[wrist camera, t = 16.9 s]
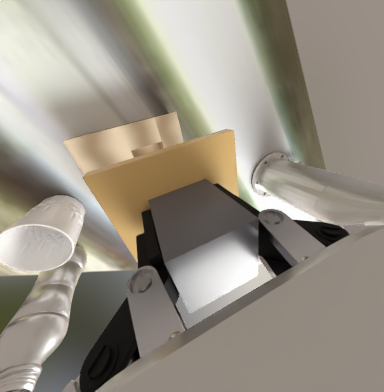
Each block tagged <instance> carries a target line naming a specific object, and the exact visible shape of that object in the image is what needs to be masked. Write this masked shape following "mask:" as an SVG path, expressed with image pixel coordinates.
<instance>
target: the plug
mask: <svg viewBox="0 0 384 392" xmlns="http://www.w3.org/2000/svg"><path fill="white" fill-rule="evenodd" d="M83 179H84V181H85V182H86V184H87V185H88V187H89V188H90V190H91V191H92V193H93V194H94V196H95V198H96V199H97V201H98V202H99V204H100V205H101V207H102V208H103V210H104V212H105V213H106V215H107V216H108V218H109V219H110V221H111V222H112V224H113V226H114V227H115V229H116V230H117V232H118V233H119V235H120V236H121V238H122V239H123V241H124V243H125V244H126V246H127V247H128V249H129V250H130V252H131V253H132V255H133V257H134V258H135V260H136V261H137V263H138V259H137V244H136V236H137V235H139V234H142V233H144V227H143V220H142V214H141V213H142V212H144V211H146V210H149V209H150V211H151V213H152V217H153V221H154V225H155V229H156V233H157V236H158V240H159V244H160V248H161V252H162V256H163V260H164V263H165V265H166V267H167V269H168V271H169V273H170V275H171V277H172V279H173V281H174V283H175V285H176V287H177V289H178V291H179V293H180V295H181V297H182V299H183V301H184V303H185V305H186V307H187V309H188V311H189V313H190V314H191V313H193V312H194V311H196V310H198V309H200V308H201V307H203V306H205V305H207V304H209V303H210V302H212V301H214V300H215V299H217V298H219V297H221V296H223V295H224V294H226V293H228V292H230V291H231V290H233V289H235V288H237V287H238V286H240V285H242V284H243V283H245V282H247V281H249V280H251V279H252V278H254V277H256V276H258V225H259V218H257V217H256V216H255V215H253V214H252V213H251V212H249V211H248V210H247V209H245V208H244V207H243V206H241V205H240V204H239V203H237V202H236V201H235V200H233V199H232V198H231V197H229V196H228V195H226V194H225V193H224V192H222V191H221V190H220V189H218V188H217V187H216V186H214V185H213V184H216V183H218V184H220V185H221V186H222V187H224V188H225V189H227V190H228V191H230V192H231V193H232V194H234V195H236V196H238V197H239V194H238V180H237V166H236V152H235V138H234V130H227V129H225V130H222V131H218V132H215V133H212V134H209V135H205V136H202V137H199V138H196V139H193V140H189V141H186V142H183V143H180V144H176V145H173V146H170V147H167V148H163V149H160V150H157V151H154V152H151V153H147V154H144V155H141V156H138V157H134V158H131V159H128V160H125V161H121V162H118V163H115V164H112V165H108V166H105V167H102V168H99V169H96V170H92V171H89V172H87V173H86V174H85V175H84V177H83Z"/></svg>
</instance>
